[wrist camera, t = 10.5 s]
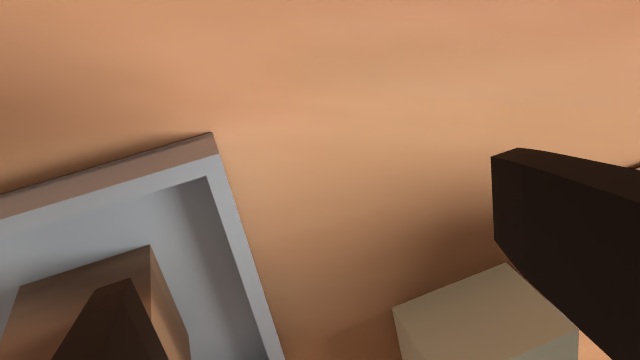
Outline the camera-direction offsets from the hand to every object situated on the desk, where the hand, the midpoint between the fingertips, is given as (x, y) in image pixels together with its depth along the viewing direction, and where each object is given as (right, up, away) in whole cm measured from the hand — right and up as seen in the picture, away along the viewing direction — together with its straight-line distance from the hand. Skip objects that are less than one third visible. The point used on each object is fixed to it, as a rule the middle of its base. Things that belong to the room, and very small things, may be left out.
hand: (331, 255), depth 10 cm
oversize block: (+6, -6, +16) cm, 18 cm away
